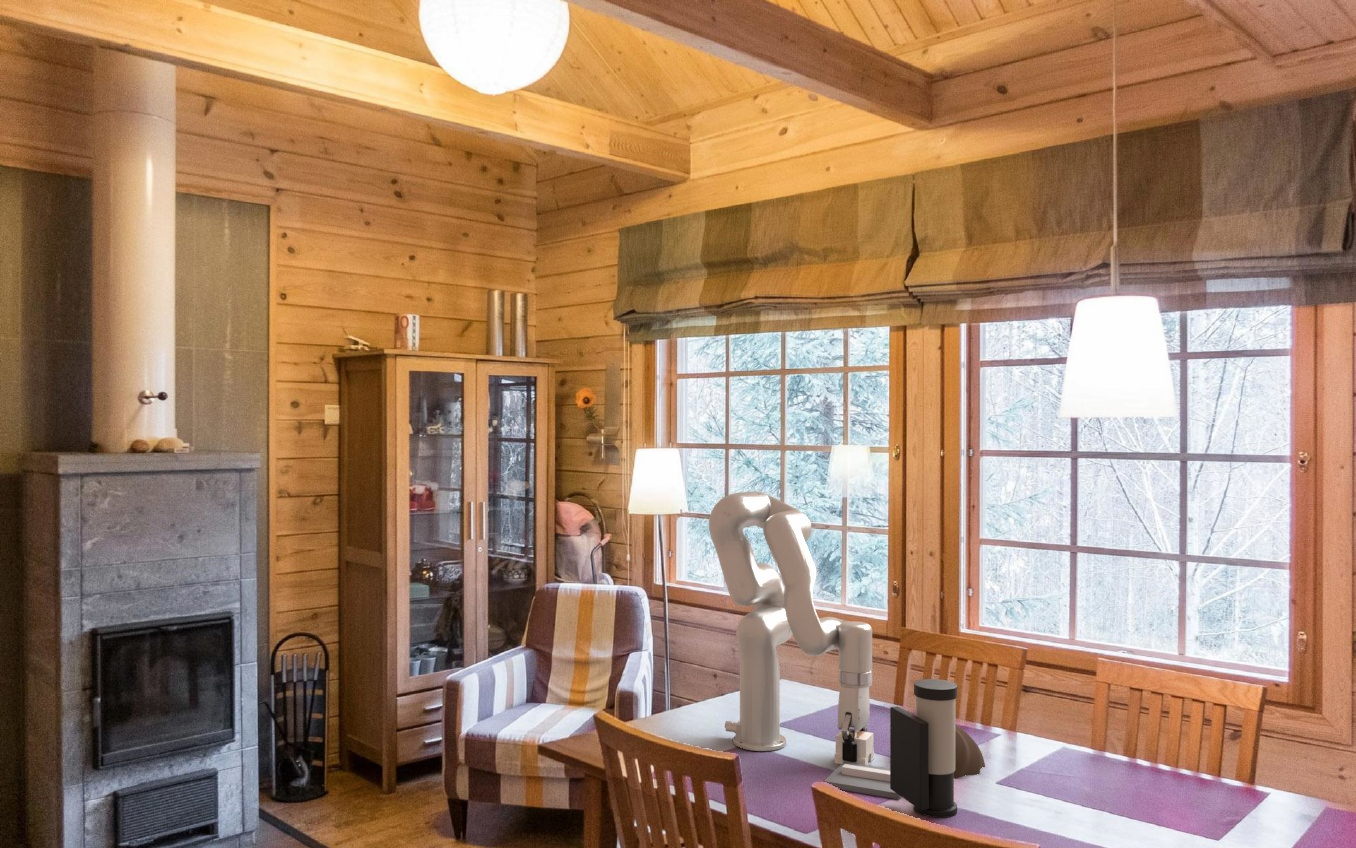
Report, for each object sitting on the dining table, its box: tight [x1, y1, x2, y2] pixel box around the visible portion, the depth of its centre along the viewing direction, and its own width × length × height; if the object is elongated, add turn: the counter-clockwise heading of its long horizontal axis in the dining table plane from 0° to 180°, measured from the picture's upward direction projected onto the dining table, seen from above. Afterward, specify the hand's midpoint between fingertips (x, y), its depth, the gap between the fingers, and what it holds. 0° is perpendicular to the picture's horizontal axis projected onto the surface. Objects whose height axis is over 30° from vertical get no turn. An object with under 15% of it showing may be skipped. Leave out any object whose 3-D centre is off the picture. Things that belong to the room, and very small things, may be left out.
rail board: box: [823, 762, 902, 800], centre depth 215 cm, size 16×14×3 cm
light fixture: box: [889, 678, 959, 818], centre depth 199 cm, size 12×11×25 cm
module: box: [834, 730, 875, 765], centre depth 228 cm, size 7×7×6 cm
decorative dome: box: [954, 724, 986, 779], centre depth 227 cm, size 19×20×10 cm
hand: (854, 755), depth 228 cm, fingers closed on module, 7 cm apart
